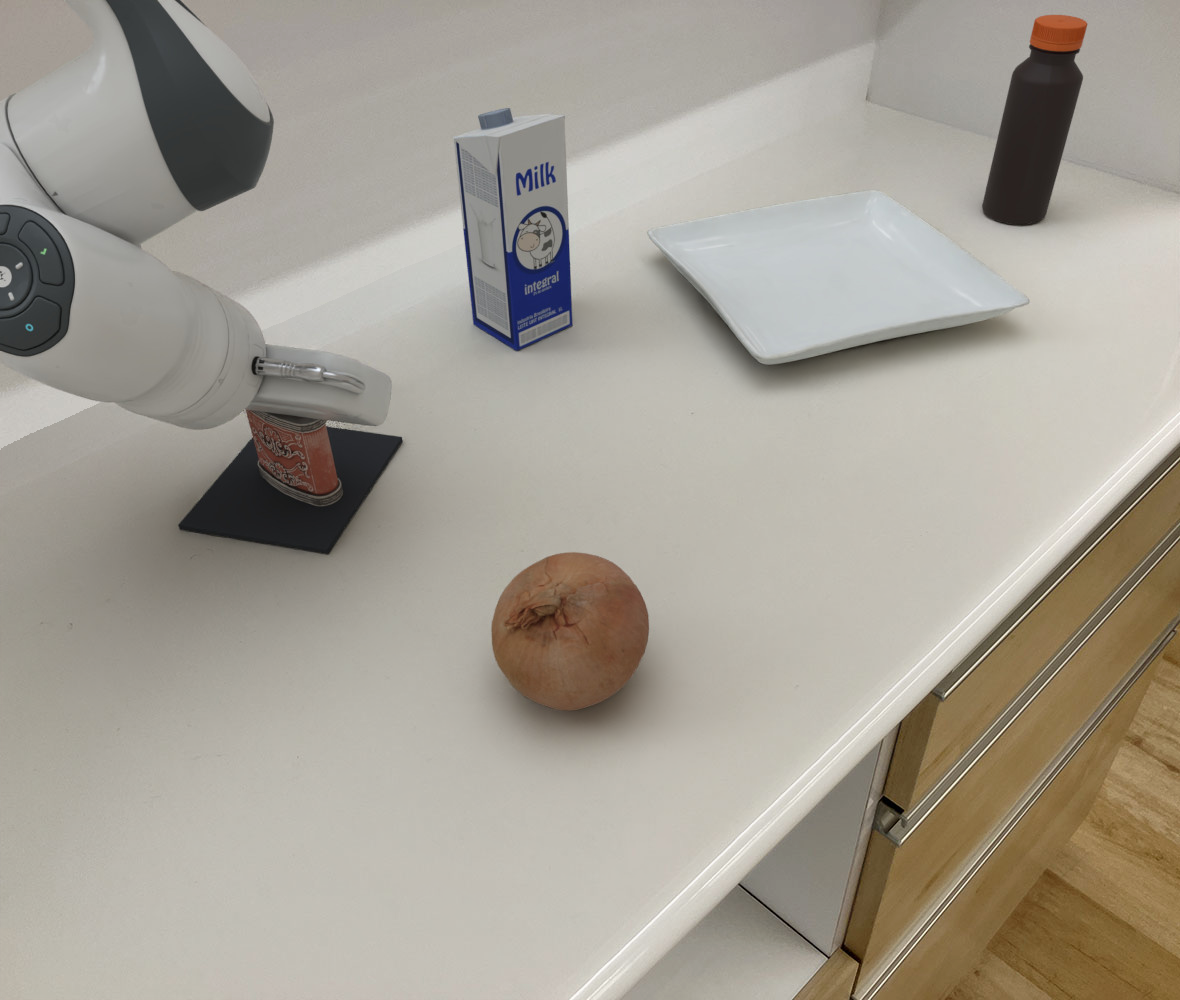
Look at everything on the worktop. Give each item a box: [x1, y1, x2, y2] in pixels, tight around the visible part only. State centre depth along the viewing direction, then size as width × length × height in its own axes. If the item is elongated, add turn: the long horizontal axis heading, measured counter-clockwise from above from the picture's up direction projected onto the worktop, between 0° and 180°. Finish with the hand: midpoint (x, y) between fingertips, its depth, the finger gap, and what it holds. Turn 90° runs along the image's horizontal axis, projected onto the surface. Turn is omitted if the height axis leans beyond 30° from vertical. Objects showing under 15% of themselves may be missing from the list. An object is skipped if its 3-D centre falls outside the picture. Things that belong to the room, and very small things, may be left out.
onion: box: [490, 551, 650, 711], centre depth 63 cm, size 10×9×10 cm
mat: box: [177, 425, 404, 555], centre depth 81 cm, size 12×14×1 cm
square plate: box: [646, 189, 1030, 366], centre depth 101 cm, size 27×27×4 cm
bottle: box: [981, 14, 1088, 226], centre depth 109 cm, size 7×7×20 cm
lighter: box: [244, 409, 343, 506], centre depth 77 cm, size 8×3×10 cm, turn 53°
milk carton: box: [452, 107, 573, 352], centre depth 93 cm, size 7×7×20 cm
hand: (293, 400), depth 79 cm, fingers closed on lighter, 6 cm apart
